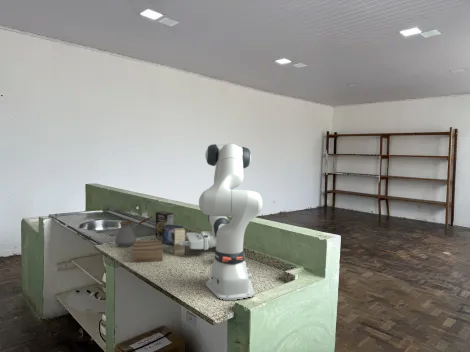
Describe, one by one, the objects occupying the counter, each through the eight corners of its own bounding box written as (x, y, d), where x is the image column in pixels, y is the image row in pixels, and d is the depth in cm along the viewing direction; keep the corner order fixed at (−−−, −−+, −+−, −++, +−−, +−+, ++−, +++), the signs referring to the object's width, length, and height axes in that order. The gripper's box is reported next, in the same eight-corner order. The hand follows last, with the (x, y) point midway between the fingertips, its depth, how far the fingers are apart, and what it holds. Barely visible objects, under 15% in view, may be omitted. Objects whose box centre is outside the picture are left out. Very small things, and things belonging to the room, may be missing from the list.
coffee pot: (117, 249, 176) (118, 221, 175) (112, 243, 186) (112, 217, 185) (155, 244, 188) (156, 218, 187) (149, 239, 198) (149, 214, 197)
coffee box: (154, 238, 200) (155, 212, 199) (161, 236, 206) (162, 210, 205) (166, 240, 196) (167, 214, 195) (173, 238, 202) (173, 212, 200)
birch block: (184, 255, 170) (184, 230, 169) (174, 255, 169) (175, 230, 168) (183, 252, 175) (183, 228, 174) (173, 252, 173) (174, 228, 172)
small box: (161, 244, 188) (161, 226, 187) (167, 241, 194) (167, 224, 193) (178, 246, 185) (178, 228, 184) (183, 243, 191) (183, 225, 190)
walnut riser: (162, 260, 160) (162, 250, 159) (132, 262, 156) (132, 252, 156) (160, 249, 179) (160, 240, 178) (134, 250, 175) (134, 241, 175)
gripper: (201, 229, 184) (176, 230, 181) (208, 238, 165) (180, 239, 161) (201, 240, 185) (176, 241, 181) (207, 251, 165) (180, 252, 162)
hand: (178, 240), depth 171 cm, fingers open, 8 cm apart
